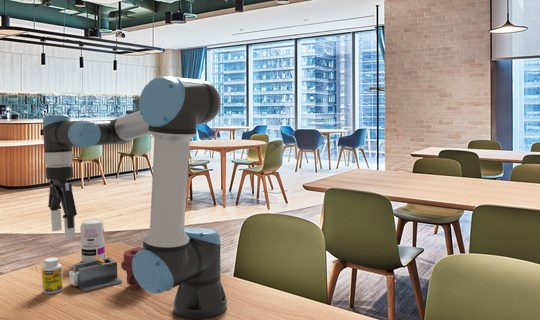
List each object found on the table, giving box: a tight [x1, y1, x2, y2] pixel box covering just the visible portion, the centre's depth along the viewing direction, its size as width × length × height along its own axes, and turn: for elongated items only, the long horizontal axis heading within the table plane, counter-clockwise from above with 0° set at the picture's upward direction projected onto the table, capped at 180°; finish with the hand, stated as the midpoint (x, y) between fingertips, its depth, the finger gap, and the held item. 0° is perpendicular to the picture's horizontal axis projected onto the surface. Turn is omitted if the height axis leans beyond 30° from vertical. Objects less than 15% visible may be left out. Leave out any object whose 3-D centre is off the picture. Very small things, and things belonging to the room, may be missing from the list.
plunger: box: [68, 256, 105, 287], centre depth 150 cm, size 7×11×6 cm, turn 130°
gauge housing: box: [73, 257, 123, 293], centre depth 151 cm, size 14×12×6 cm
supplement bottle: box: [41, 257, 63, 295], centre depth 142 cm, size 6×6×10 cm
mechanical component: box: [120, 246, 143, 291], centre depth 146 cm, size 12×10×10 cm
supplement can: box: [80, 219, 106, 263], centre depth 171 cm, size 8×8×15 cm
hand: (63, 234), depth 140 cm, fingers open, 13 cm apart
